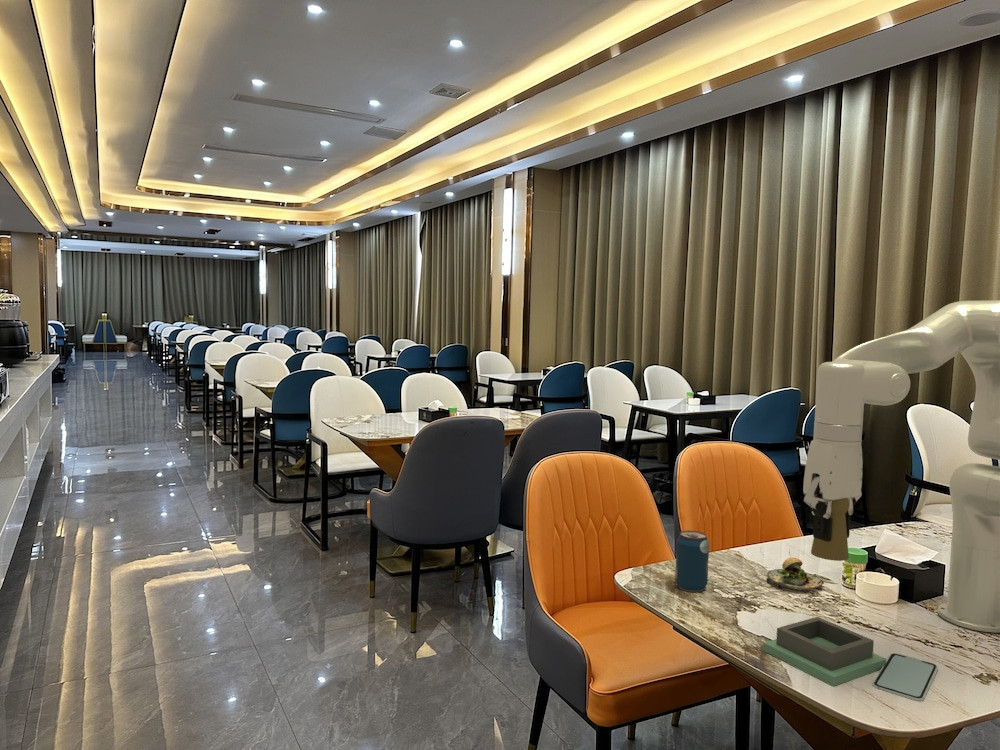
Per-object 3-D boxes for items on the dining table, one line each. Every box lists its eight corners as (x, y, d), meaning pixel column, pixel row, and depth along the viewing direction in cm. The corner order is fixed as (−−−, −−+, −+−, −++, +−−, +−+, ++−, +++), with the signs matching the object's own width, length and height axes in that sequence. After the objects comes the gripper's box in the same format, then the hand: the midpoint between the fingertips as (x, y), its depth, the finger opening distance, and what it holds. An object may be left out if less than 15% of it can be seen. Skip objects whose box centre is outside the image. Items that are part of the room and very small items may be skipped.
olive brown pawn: (853, 562, 121) (857, 498, 120) (814, 558, 122) (818, 495, 121) (843, 551, 127) (847, 490, 126) (807, 548, 128) (811, 487, 127)
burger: (771, 592, 157) (773, 559, 156) (761, 574, 168) (763, 543, 168) (829, 597, 155) (831, 563, 154) (815, 578, 166) (817, 547, 166)
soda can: (713, 590, 156) (716, 537, 155) (687, 594, 153) (689, 540, 152) (694, 580, 162) (696, 528, 161) (668, 583, 160) (670, 531, 159)
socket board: (814, 635, 134) (815, 612, 134) (885, 667, 122) (887, 642, 122) (763, 650, 127) (764, 626, 127) (833, 686, 115) (835, 659, 115)
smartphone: (870, 684, 115) (891, 651, 127) (870, 690, 115) (890, 656, 127) (922, 700, 111) (939, 664, 122) (922, 706, 111) (938, 670, 122)
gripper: (848, 428, 130) (842, 526, 131) (786, 432, 122) (780, 537, 123) (887, 434, 124) (880, 538, 125) (825, 439, 115) (818, 550, 117)
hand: (830, 536), depth 124 cm, fingers closed on olive brown pawn, 4 cm apart
